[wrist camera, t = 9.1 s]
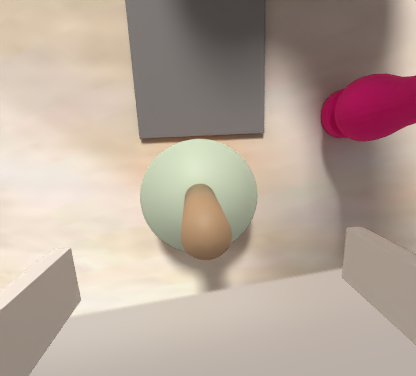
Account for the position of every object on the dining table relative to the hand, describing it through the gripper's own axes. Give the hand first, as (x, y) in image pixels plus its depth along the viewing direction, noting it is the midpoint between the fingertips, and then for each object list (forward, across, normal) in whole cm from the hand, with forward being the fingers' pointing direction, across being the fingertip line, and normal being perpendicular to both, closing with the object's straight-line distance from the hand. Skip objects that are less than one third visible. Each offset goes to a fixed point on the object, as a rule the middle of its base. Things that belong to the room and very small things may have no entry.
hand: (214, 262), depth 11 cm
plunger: (+15, 0, -1) cm, 15 cm away
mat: (+20, +1, +14) cm, 25 cm away
